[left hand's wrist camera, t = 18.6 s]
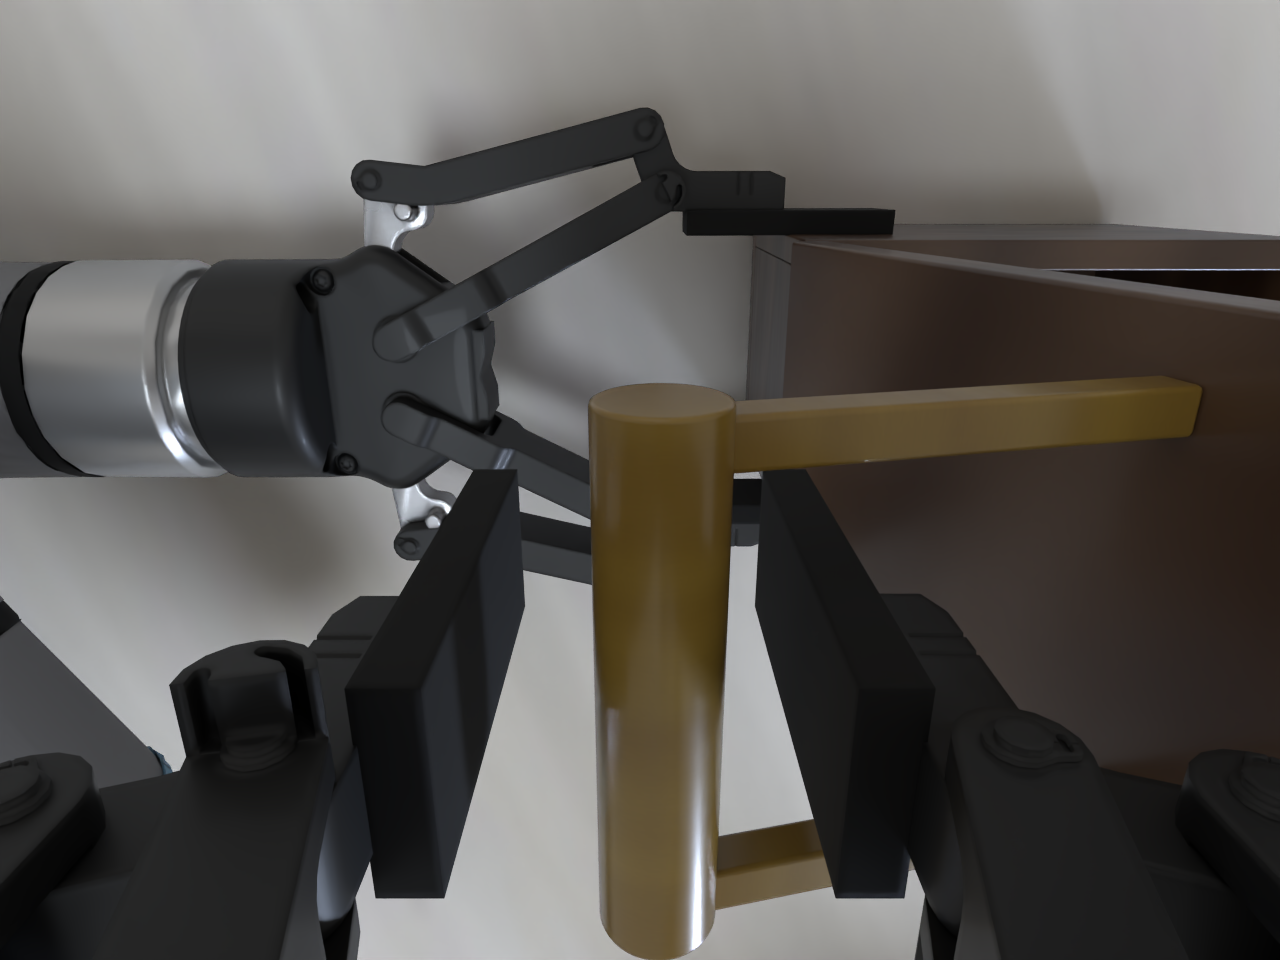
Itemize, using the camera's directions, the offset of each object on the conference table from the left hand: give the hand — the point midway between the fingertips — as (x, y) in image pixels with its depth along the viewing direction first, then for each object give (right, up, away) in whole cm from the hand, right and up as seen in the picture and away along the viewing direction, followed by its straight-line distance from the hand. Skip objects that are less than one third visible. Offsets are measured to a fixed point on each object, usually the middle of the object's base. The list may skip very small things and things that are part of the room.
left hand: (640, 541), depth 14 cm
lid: (+7, +1, +2) cm, 7 cm away
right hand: (+8, +5, +14) cm, 17 cm away
